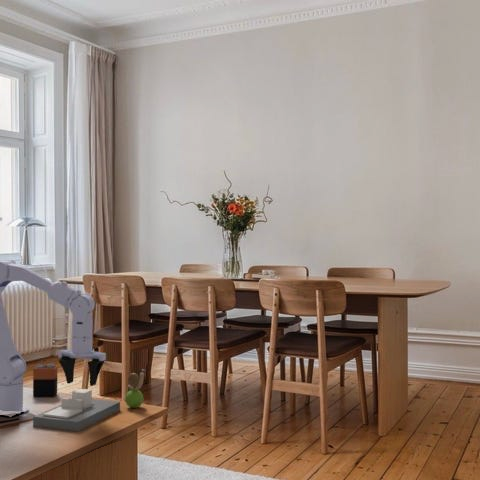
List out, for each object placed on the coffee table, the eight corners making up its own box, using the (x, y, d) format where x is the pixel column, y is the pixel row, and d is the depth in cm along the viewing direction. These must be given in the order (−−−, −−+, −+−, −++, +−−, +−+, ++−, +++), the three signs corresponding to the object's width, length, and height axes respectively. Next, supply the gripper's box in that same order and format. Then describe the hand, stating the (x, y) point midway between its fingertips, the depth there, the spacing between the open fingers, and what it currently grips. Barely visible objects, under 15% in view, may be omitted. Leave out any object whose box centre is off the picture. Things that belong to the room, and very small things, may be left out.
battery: (54, 397, 202) (54, 365, 202) (32, 397, 201) (32, 365, 201) (57, 393, 206) (57, 363, 206) (36, 393, 206) (36, 363, 206)
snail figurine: (137, 411, 186) (137, 370, 186) (121, 408, 189) (121, 368, 189) (149, 407, 190) (150, 367, 190) (133, 404, 194) (133, 365, 194)
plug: (79, 412, 185) (80, 388, 185) (91, 413, 183) (91, 389, 183) (71, 415, 181) (72, 391, 181) (83, 417, 180) (84, 393, 180)
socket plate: (33, 425, 171) (33, 416, 171) (78, 405, 191) (78, 397, 191) (77, 431, 166) (78, 421, 166) (119, 410, 187) (120, 401, 187)
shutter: (42, 415, 171) (43, 405, 171) (61, 407, 179) (61, 397, 179) (67, 418, 169) (67, 407, 169) (85, 410, 177) (85, 400, 177)
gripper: (52, 336, 180) (51, 384, 180) (96, 340, 176) (96, 389, 176) (66, 333, 187) (65, 379, 187) (109, 336, 182) (109, 383, 183)
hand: (81, 383), depth 182 cm, fingers open, 7 cm apart
